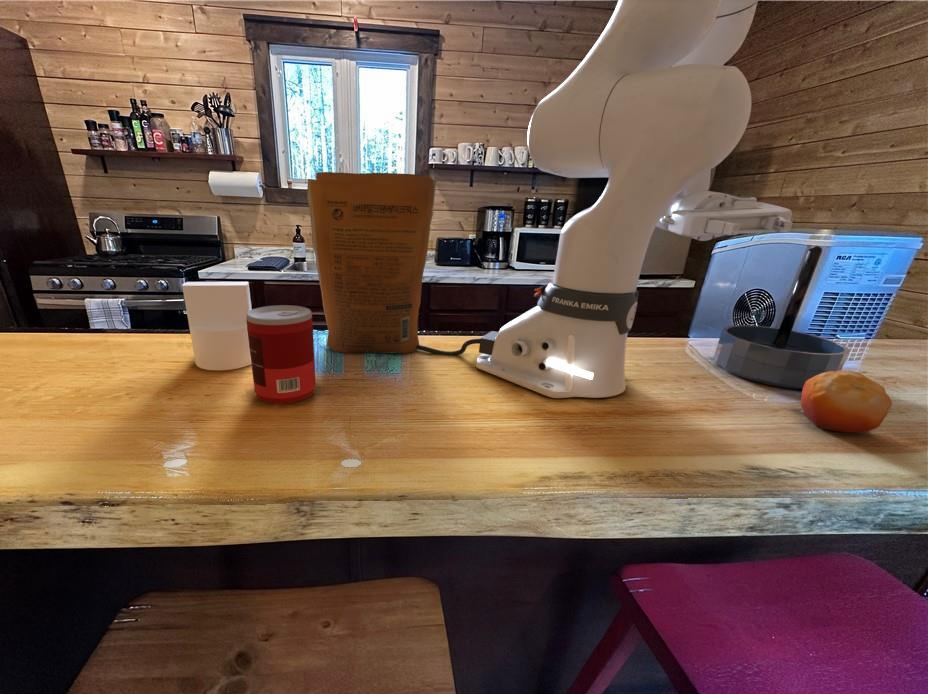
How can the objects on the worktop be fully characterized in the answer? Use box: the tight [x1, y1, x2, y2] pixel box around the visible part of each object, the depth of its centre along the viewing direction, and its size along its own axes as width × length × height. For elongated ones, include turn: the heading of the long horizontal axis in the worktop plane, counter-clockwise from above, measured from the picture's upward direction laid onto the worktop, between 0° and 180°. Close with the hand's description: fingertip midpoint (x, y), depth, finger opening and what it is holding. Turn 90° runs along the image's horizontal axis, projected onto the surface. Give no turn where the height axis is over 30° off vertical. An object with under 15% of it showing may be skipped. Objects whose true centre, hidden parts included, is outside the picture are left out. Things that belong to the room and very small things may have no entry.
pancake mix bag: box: [306, 171, 437, 355], centre depth 70 cm, size 7×19×28 cm, turn 93°
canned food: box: [246, 304, 317, 405], centre depth 56 cm, size 8×8×11 cm
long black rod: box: [772, 245, 823, 349], centre depth 69 cm, size 5×5×20 cm
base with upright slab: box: [181, 281, 253, 371], centre depth 66 cm, size 9×9×12 cm
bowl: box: [712, 324, 850, 390], centre depth 72 cm, size 16×16×6 cm
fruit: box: [800, 370, 893, 434], centre depth 54 cm, size 8×8×8 cm
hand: (761, 228), depth 73 cm, fingers open, 8 cm apart
